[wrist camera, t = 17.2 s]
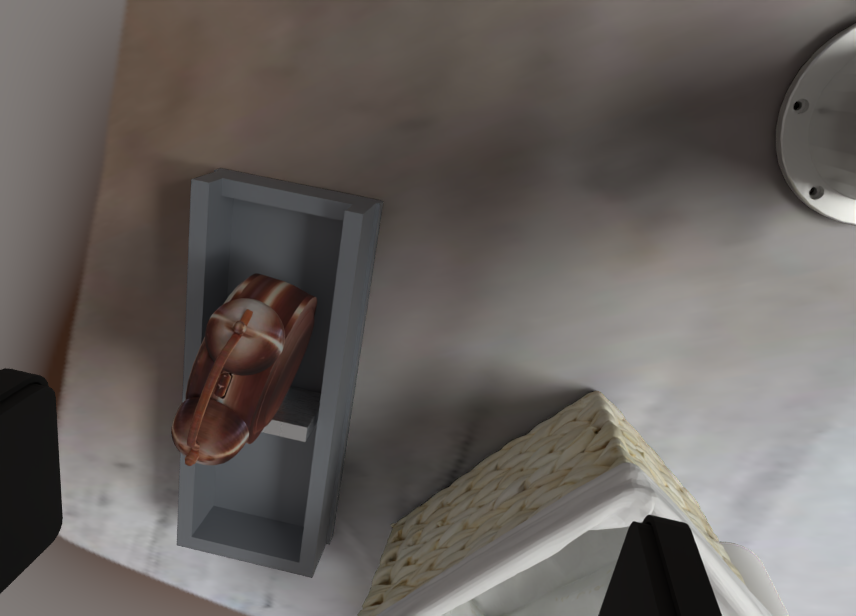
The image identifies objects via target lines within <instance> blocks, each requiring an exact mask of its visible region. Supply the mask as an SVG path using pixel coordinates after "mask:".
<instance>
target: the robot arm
mask: <svg viewBox="0 0 856 616" xmlns="http://www.w3.org/2000/svg"><path fill="white" fill-rule="evenodd" d="M796 101H797V102H798V103H799V107H798V108H797V109H796V110H794V109H793V107H794V104H795V102H796ZM776 152H777V157H778V162H779V167H780V169H781V171H782V174H783V176H784V178H785V181H786V183H787V184H788V185H789V187H790V188H791V189H792V191H793V192H794V194H795V195H796V196H797V197H798V198H799V199H800V200H801V201H802V202H804V203H805V204H806V205H807V206H808V207H809V208H811V209H813V210H815V211H816V212H818V213H820V214H822V215H824V216H826V217H828V218H831V219H833V220H836V221H839V222H841V223H846V224H851V225H856V23H855V24H853V25H852V26H850V27H848V28H847V29H845V30H843V31H842V32H840V33H838V34H837V35H835V36H834V37H832V38H831V39H830V40H829V41H828V42H826V43H825V44H824V45H823V46H822V47H820V48H819V49H818V50H817V51H816V52H815V53H814V54H813V55H812V56H811V57H810V59H809V60H808V61H807V62H806V63H805V64H804V65H803V67H802V68H801V69H800V71H799V72H798V74H797V75H796V77H795V79H794V80H793V82H792V83H791V85H790V87H789V88H788V91H787V93H786V95H785V98H784V100H783V103H782V105H781V108H780V112H779V117H778V121H777V126H776ZM812 187H814V192H813V193H812V194H809V191H810V190H811V188H812ZM62 519H63V517H62V500H61V482H60V465H59V448H58V431H57V413H56V397H55V392H54V391H53V389H52V388H50V387H49V386H48V382H47V381H46V379H45V378H44V377H42V376H40V375H35V374H31V373H26V372H22V371H17V370H13V369H2V370H0V593H1V592H3V590H4V589H6V588H7V587H8V586H9V585H10V584H11V583H12V582H13V581H14V580H15V579H16V578H17V577H18V576H19V575H20V574H21V573H22V572H23V571H24V570H25V569H26V568H27V567H28V566H29V565H30V564H31V563H32V562H33V561H34V560H35V559H36V558H37V557H38V556H39V555H40V554H41V553H42V552H43V551H44V550H45V549H46V548H47V547H48V546H49V545H50V544H51V543H52V542H53V541H54V540H55V538H56V537H57V535H58V533H59V531H60V529H61V525H62ZM598 616H722V614H721V611H720V608H719V606H718V603H717V600H716V597H715V595H714V592H713V589H712V586H711V583H710V581H709V578H708V575H707V572H706V570H705V567H704V564H703V561H702V559H701V556H700V553H699V550H698V548H697V545H696V542H695V539H694V536H693V534H692V531H691V529H690V527H689V525H688V524H686V523H684V522H680V521H676V520H671V519H667V518H662V517H658V516H654V515H647V516H646V517H645V518H644V520H643V522H642V523H640V522H636V521H633V522H632V523H631V524H630V526H629V529H628V531H627V534H626V537H625V540H624V543H623V546H622V549H621V551H620V554H619V557H618V560H617V563H616V566H615V569H614V571H613V574H612V577H611V580H610V583H609V586H608V589H607V592H606V594H605V597H604V600H603V603H602V606H601V609H600V612H599V615H598Z"/></svg>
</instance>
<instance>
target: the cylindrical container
mask: <svg viewBox="0 0 856 616" xmlns="http://www.w3.org/2000/svg"><path fill="white" fill-rule="evenodd" d="M720 543H721V544H722V545H723V547H724V549H725V551H726V552H727V553H728V555H729V558H730V560H731V563H732V564H733V565H734V566H735V567H736V568H737V570H738V571H739V572H740V574H741V576H742V577H743V580H744V582H745V586H746V587H747V588H748V589H749V590H750V592H751V593H752V594H753V595H754V596H755V597H756V598H757V599H758V600H759V601H760V602H761V603H762V604H763V605H764V606H765V607H766V608H767V609H768V610H769V611H770V612H771V614H772V615H773V616H789V614H788V612H787V610H786V608H785V606H784V604H783V602H782V600H781V598H780V596H779V594H778V592H777V590H776V588H775V587H774V585H773V583H772V581H771V579H770V577H769V575H768V573H767V571H766V569H765V567H764V565H763V563H762V561H761V560H760V559H759V557H758V556H757V555H756V554H754V553H753V552H752V551H751V550H749V549H747V548H745V547H743V546H740V545H737V544H734V543H727V542H720Z"/></svg>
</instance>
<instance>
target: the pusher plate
mask: <svg viewBox="0 0 856 616" xmlns="http://www.w3.org/2000/svg"><path fill="white" fill-rule="evenodd" d="M320 399H321V393H317V392H313V391H308V390H304V389H299V388H295V387H290V388H289V390H288V392H287V394H286V396H285V398H284V400H283V402H282V404H281V405H280V407H279V409H278V411H277V413H276V414H275V416H274V417H273V419H272V420H271V422H270V423H269V424H268V425H267V426H266V427H264V429H263V430H262V432H264V433H268V434H272V435H277V436H281V437H285V438H290V439H294V440H299V441H303V442H306V440H307V439H308V437H309V435H310V433H311V432H312V430H313V428H314V426H315V425H316V423H317V421H318V414H319V406H320Z"/></svg>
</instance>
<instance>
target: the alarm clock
mask: <svg viewBox="0 0 856 616" xmlns="http://www.w3.org/2000/svg"><path fill="white" fill-rule="evenodd" d="M316 307H317V298H316V297H315V296H312V295H310V294H308V293H307V292H305V291H303V290H301V289H300V288H298V287H296V286H294V285H292V284H289V283H287V282H285V281H281V280H278V279H275V278H272V277H268V276H265V275H262V274H258V273H255V274H253V275H251V276H249V277H248V278H247V279H246V280H245V281H243V282H241V283H240V284H239V285H238V286H237V287H236V288H235V289H234V291H233V292H232V293H231V294H230V295H229V297H228V298H227V300H226V301H225V302H224V304H223V305H222V306H220V307H219V308H218V309H217V310H216V311H215V312H214V313H213V314H212V316H211V317H210V319H209V321H208V323H207V327H206V331H205V338H204V340H203V342H202V344H201V346H200V349H199V351H198V354H197V356H196V359H195V361H194V364H193V367H192V370H191V373H190V376H189V380H188V384H187V390H186V400H185V401H184V402H183V403H182V404H181V406H180V407H179V409H178V411H177V413H176V415H175V418H174V420H173V424H172V432H171V433H172V438H173V441H174V444H175V446H176V447H177V449H178V450H179V451H180V452H181V453H182V454H183V455H184V456H185V464H186V465H187V466H192V465H193V464H195V463H199V464H203V465H219V464H223V463H225V462H227V461H229V460H231V459H232V458H233V457H234V456H235V455H237V454H238V452H239V451H240V450H241V449H242V448H243V447H244V445H245V444H246V443H247V444H251V443H253V442H254V441H255V440H256V439H257V437H258V436H259V435H260V433H261V432H262V430H263V429H264V427H266V426H267V425H268V424H269V423H270V422H271V420H272V419H273V417H274V416H275V414H276V413H277V411H278V409H279V407H280V405H281V404H282V402H283V400H284V398H285V396H286V394H287V392H288V390H289V388H290V386H291V384H292V382H293V380H294V377H295V375H296V373H297V371H298V368H299V366H300V364H301V361H302V359H303V357H304V354H305V351H306V349H307V346H308V343H309V340H310V337H311V334H312V331H313V327H314V316H315V312H316Z"/></svg>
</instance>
